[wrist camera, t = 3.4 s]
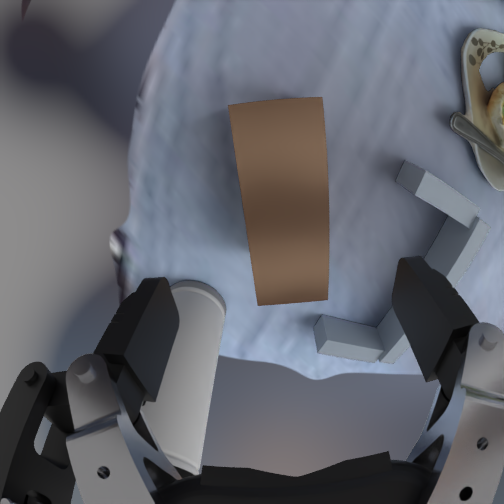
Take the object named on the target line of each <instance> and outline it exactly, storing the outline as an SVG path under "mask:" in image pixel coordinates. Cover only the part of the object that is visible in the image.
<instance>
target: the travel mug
mask: <svg viewBox="0 0 504 504" xmlns="http://www.w3.org/2000/svg"><path fill="white" fill-rule="evenodd" d="M170 289H171V292H172V295H173V297H174V300H175V303H176V306H177V309H178V312H179V318H180V323H179V329H178V332H177V335H176V338H175V341H174V344H173V347H172V350H171V353H170V357H169V360H168V363H167V366H166V369H165V373H164V376H163V379H162V382H161V386H160V389H159V392H158V396H157V399H156V402H148V401H143V402H142V405H141V410H142V411H143V413H144V415H145V417H146V419H147V421H148V423H149V426H150V428H151V430H152V432H153V434H154V436H155V438H156V440H157V441H158V443H159V445H160V447H161V449H162V451H163V453H164V454H165V456H166V457H167V459H168V460H169V461H170V462H171V464H172V465H173V466H174V467H175V469H176V470H177V472H178V473H179V474H180V476H181V478H182V479H183V478H186V477H189V476H194V475H198V474H199V472H198V470H199V469H200V463H201V457H202V450H203V444H204V438H205V431H206V425H207V419H208V413H209V407H210V401H211V394H212V389H213V383H214V377H215V371H216V365H217V360H218V354H219V349H220V343H221V337H222V332H223V326H224V320H225V315H226V305H225V302H224V300H223V298H222V296H221V295H220V294H219V293H218V292H217V291H216V290H215V289H213V288H212V287H210V286H208V285H207V284H204V283H201V282H197V281H182V282H178V283H176V284H174V285H172V286H171V287H170Z"/></svg>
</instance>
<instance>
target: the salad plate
mask: <svg viewBox="0 0 504 504" xmlns="http://www.w3.org/2000/svg"><path fill="white" fill-rule="evenodd" d="M494 52H503V53H504V34H503V33H500V32H497V31H496V30H490V29H483V28H477V29H475V30H474V31H472V32H471V33H469V34H468V36H467V38H466V39H465V41H464V44H463V46H462V48H461V78H462V86H463V92H464V98H465V105H466V114H465V115H463V114H461V113H460V112H454V113H453V114H452V115H451V117H450V122H449V123H450V127H451V129H452V130H453V131H454V132H455V133H457V134H458V135H460V136H462V137H463V138H465V139H466V140H468V141H469V143H470V144H471V146H472V149H473V152H474V154H475V158H476V161H477V165H478V167H479V169H480V170H481V171H482V173H483V175H484V176H485V178H486V179H487V181H488V182H489V184H490V185H491V186H492V187H493V188H495V189H496V190H498V191H504V82H503V83H501V84H500V85H498V86H497V87H496V89H494V88H492V89H491V90H490V91H487V90H486V89H485V87H484V84H483V82H482V79H481V75H480V72H479V69H480V66H481V63H482V61H483V60H484V59H485V58H486V57H487V55H489V54H490V53H494Z"/></svg>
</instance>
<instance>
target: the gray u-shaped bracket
mask: <svg viewBox="0 0 504 504" xmlns="http://www.w3.org/2000/svg"><path fill="white" fill-rule="evenodd" d="M396 182H397V183H398V184H400V185H401V186H403V187H404V188H405V189H407V190H408V191H410V192H411V193H412V194H414V195H415V196H417V197H419V198H421V199H422V200H424V201H426V202H428V203H429V204H431V205H433V206H434V207H436V208H438V209H439V210H441V211H443V212H444V213H446V214H448V217H447V219H446V221H445V223H444V224H443V226H442V228H441V230H440V232H439V234H438V235H437V237H436V239H435V241H434V243H433V244H432V246H431V248H430V249H429V251H428V253H427V254H426V256H425V258H424V260H425V261H426V262H427V264H428V265H429V266H430V267H431V268H432V269H435V270H437V271H438V272H440V273H441V274H443V275H444V276H445V277H446V278H447V279H448V281H449V282H450V283H451V284H452V287H453V288H455V287H456V286H457V284H458V283H459V281H460V280H461V278H462V277H463V275H464V274H465V272H466V271H467V269H468V267H469V266H470V264H471V262H472V261H473V259H474V258H475V256H476V254H477V252H478V251H479V249H480V247H481V245H482V244H483V242H484V240H485V238H486V236H487V234H488V233H489V231H490V229H491V227H490V226H489V225H487V224H486V223H485V222H483V221H482V220H481V219H480V218H478V217H477V215H478V213H479V211H480V208H479V207H478V206H476V205H475V204H474V203H472V202H471V201H470V200H468V199H467V198H466V197H464V196H463V195H462V194H460V193H459V192H457V191H456V190H455V189H453V188H452V187H450V186H449V185H447V184H446V183H444V182H443V181H441V180H440V179H438V178H437V177H435V176H434V175H432V174H431V173H429V172H428V171H426V170H424V169H422V168H420V167H418V166H416V165H414V164H412V163H410V162H408V161H406V160H405V161H404V163H403V165H402V168H401V170H400V172H399V174H398V176H397V179H396ZM314 335H315V341H316V347H317V353H319V354H324V355H329V356H335V357H340V358H346V359H352V360H358V361H364V362H371V363H375V362H376V361H377V360H378V359H379V362H381V363H388V364H394V363H395V362H396V361H397V360H398V359H399V358H400V356H401V355H402V354H403V353H404V352H405V351H406V350H407V349H408V348H409V346H410V344H409V341H408V339H407V337H406V335H405V333H404V331H403V329H402V326H401V324H400V322H399V320H398V318H397V316H396V314H395V312H394V310H393V306H392V308H391V309H390V310H389V312H388V313H387V314H386V316H385V317H384V318H383V320H382V321H381V322H380V324H379V325H378V326H377V328H376V327H372V326H368V325H363V324H359V323H355V322H351V321H347V320H343V319H339V318H335V317H331V316H327V315H323V314H322V315H321V317H320V318H319V320H318V322H317V323H316V325H315V326H314Z"/></svg>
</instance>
